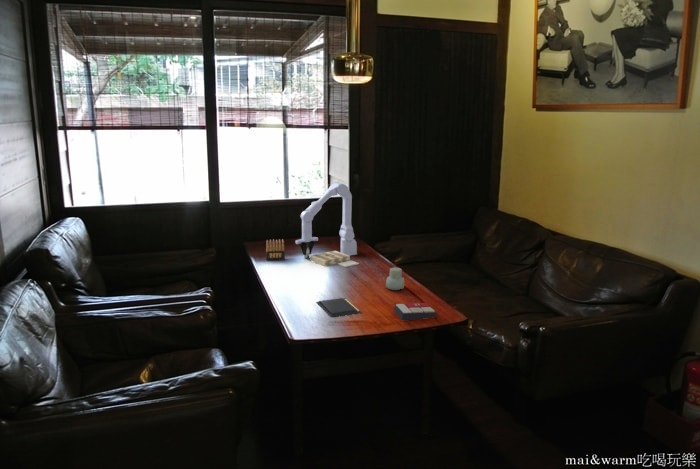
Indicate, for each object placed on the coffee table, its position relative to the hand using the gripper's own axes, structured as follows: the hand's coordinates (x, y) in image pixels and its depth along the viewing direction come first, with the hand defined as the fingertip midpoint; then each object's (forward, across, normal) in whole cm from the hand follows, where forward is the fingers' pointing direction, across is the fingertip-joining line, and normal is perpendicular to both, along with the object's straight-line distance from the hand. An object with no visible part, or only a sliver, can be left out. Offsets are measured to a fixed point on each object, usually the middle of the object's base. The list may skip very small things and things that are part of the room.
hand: (306, 254), depth 313 cm
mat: (+2, -12, +24) cm, 27 cm away
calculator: (+3, +12, +100) cm, 101 cm away
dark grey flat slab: (+3, +33, +74) cm, 81 cm away
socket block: (+2, -8, +12) cm, 15 cm away
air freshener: (+3, -5, +70) cm, 70 cm away
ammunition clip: (+3, +16, -9) cm, 19 cm away
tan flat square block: (0, -8, +12) cm, 14 cm away
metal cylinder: (+2, 0, 0) cm, 2 cm away
